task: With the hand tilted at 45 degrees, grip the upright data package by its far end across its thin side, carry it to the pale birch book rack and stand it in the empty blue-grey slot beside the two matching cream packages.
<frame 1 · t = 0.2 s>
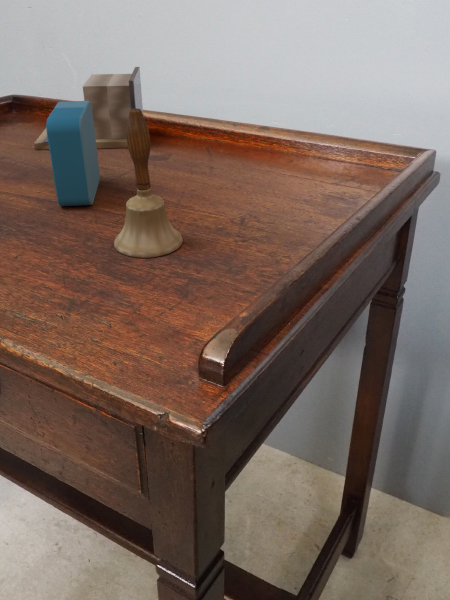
hand bell: (148, 244, 75), on the table
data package: (81, 194, 89), on the table
book rack: (92, 138, 113), on the table
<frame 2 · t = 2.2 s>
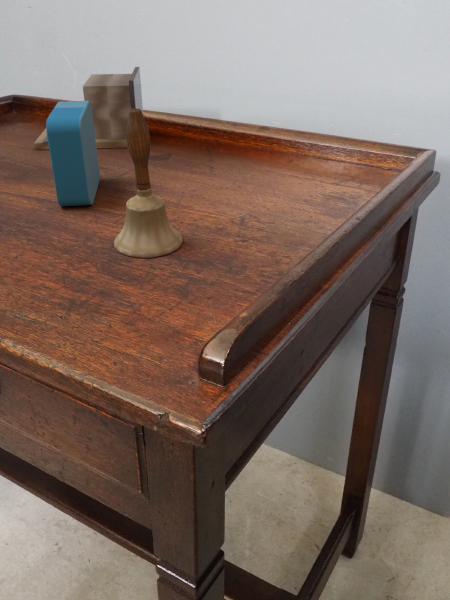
nothing on the table moved.
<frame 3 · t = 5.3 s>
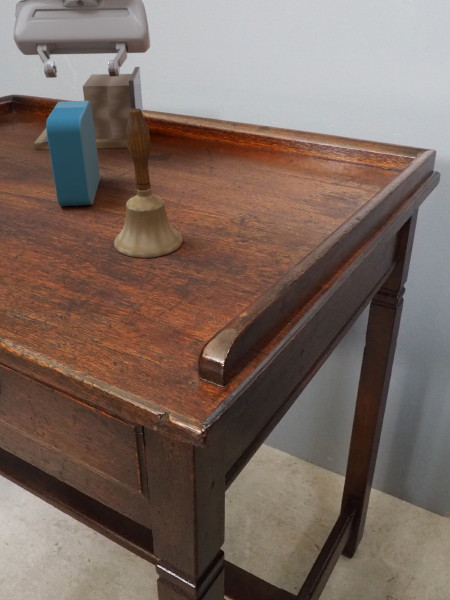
hand: (82, 74, 92), 14 cm above the table, tool tilted 45°, fingers open, 8 cm apart
nothing on the table moved.
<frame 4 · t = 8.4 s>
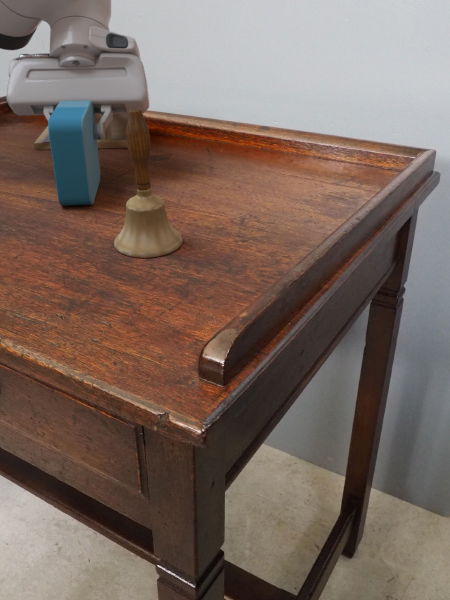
hand: (78, 138, 88), 7 cm above the table, tool tilted 45°, fingers closed on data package, 4 cm apart
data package: (81, 194, 89), on the table, touching gripper
everything else where it was.
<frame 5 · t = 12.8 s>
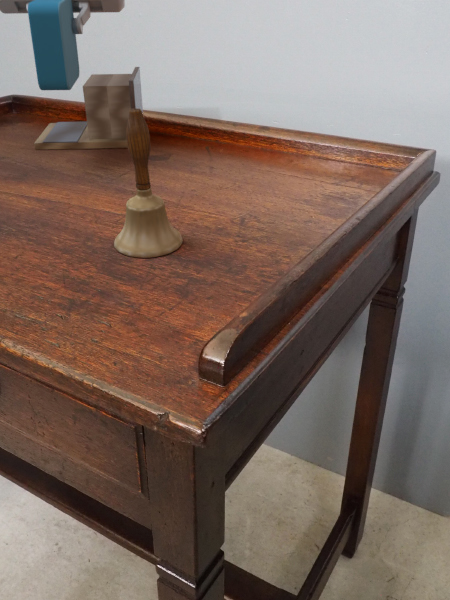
hand: (57, 32, 96), 19 cm above the table, tool tilted 45°, fingers closed on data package, 4 cm apart
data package: (61, 85, 97), point 12 cm above the table, touching gripper
everything else where it was.
when the fingers open (8 cm above the table, at t = 17.7 s): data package stays where it is, resting on book rack.
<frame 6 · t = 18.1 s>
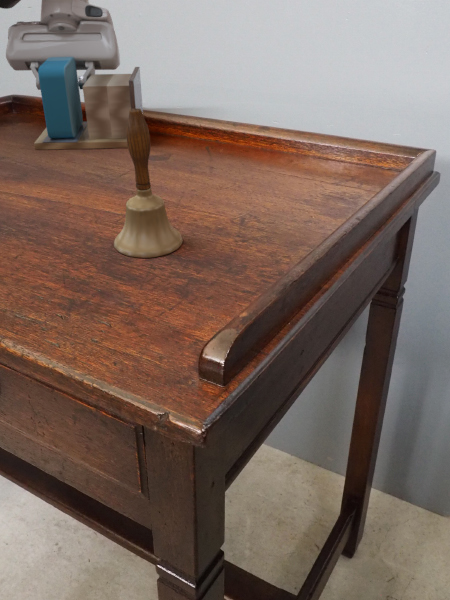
hand: (62, 87, 111), 8 cm above the table, tool tilted 45°, fingers open, 6 cm apart
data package: (66, 132, 112), point 1 cm above the table, touching book rack
everything else where it was.
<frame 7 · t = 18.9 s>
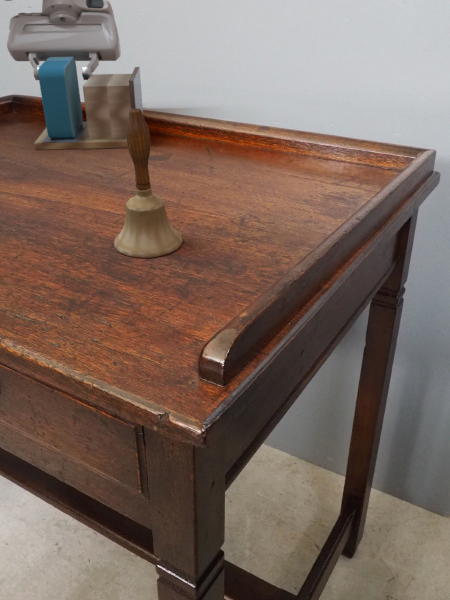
hand: (62, 78, 112), 10 cm above the table, tool tilted 45°, fingers open, 7 cm apart
nothing on the table moved.
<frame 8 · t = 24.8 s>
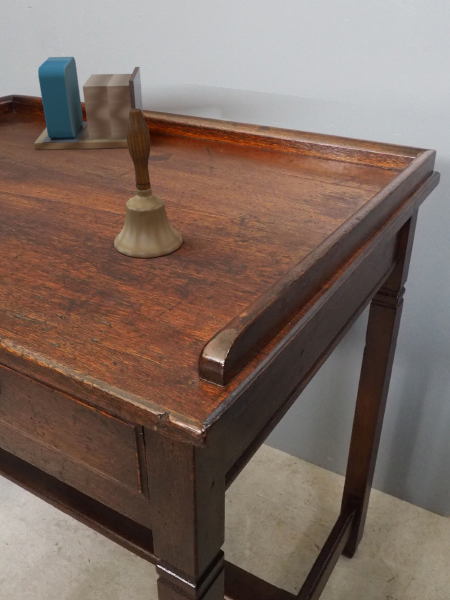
nothing on the table moved.
at the end: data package 0.1 cm from the target spot on the book rack, point 1.2 cm above the book rack's base; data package tilted 0°; the gripper is holding nothing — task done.
